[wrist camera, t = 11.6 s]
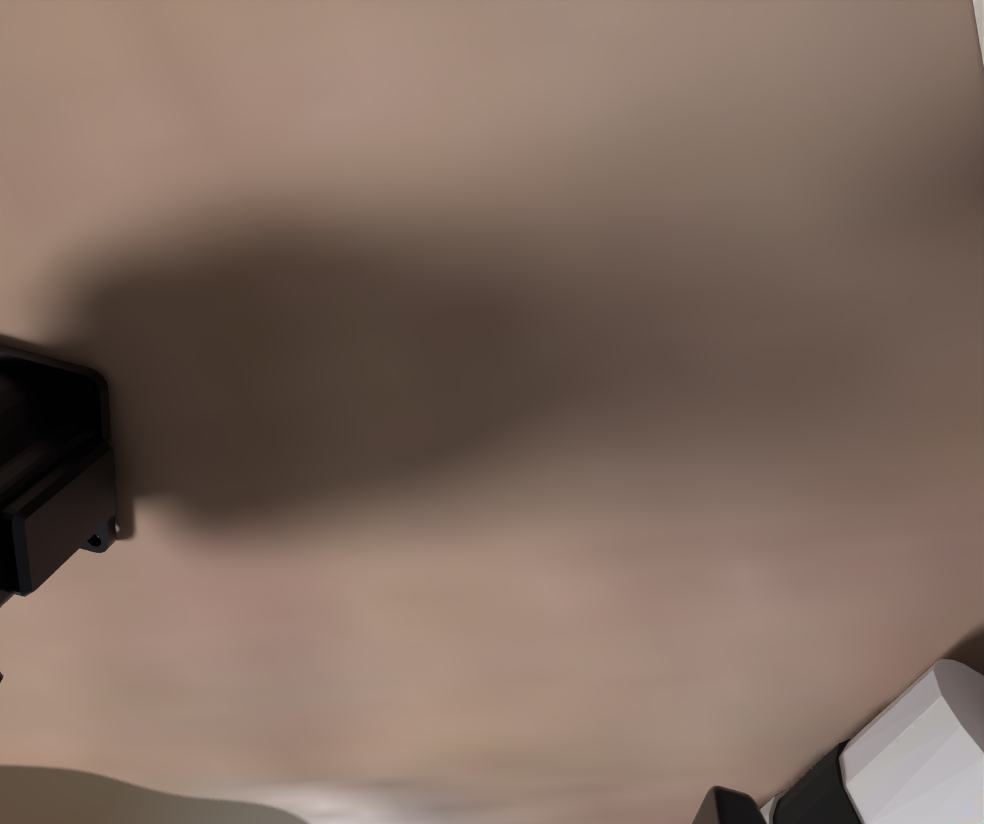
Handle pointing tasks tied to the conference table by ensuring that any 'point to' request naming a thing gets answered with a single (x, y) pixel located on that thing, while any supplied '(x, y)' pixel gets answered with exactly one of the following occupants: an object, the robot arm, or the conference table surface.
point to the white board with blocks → (980, 22)
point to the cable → (902, 761)
